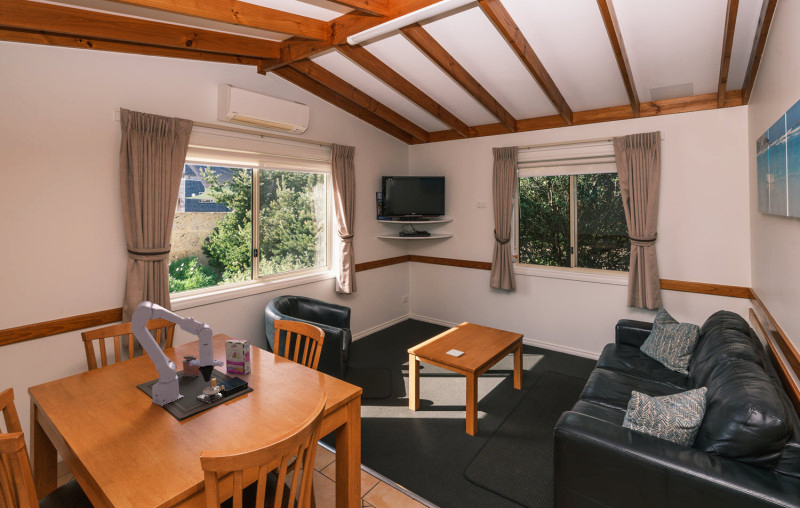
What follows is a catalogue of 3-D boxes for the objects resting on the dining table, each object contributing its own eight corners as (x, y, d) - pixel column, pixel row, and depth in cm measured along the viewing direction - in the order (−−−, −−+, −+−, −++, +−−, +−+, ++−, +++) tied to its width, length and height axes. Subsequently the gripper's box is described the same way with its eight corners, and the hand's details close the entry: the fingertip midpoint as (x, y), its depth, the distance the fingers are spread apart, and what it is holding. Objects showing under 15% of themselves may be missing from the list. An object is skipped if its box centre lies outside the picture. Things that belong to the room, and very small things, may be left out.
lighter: (201, 374, 199) (200, 355, 198) (197, 377, 196) (196, 357, 195) (185, 373, 200) (184, 354, 199) (181, 376, 197) (180, 356, 196)
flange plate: (218, 394, 173) (218, 385, 173) (201, 396, 172) (200, 387, 171) (222, 386, 181) (222, 377, 181) (206, 387, 180) (205, 378, 179)
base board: (210, 403, 170) (209, 393, 170) (197, 399, 174) (196, 389, 174) (227, 395, 178) (226, 385, 178) (214, 391, 182) (213, 381, 181)
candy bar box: (251, 371, 203) (250, 340, 201) (244, 375, 199) (243, 343, 197) (232, 368, 207) (231, 337, 205) (226, 372, 202) (224, 341, 200)
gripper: (184, 354, 175) (186, 384, 177) (217, 355, 174) (218, 385, 176) (193, 349, 182) (195, 377, 184) (225, 349, 181) (226, 378, 183)
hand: (207, 381), depth 180 cm, fingers closed
